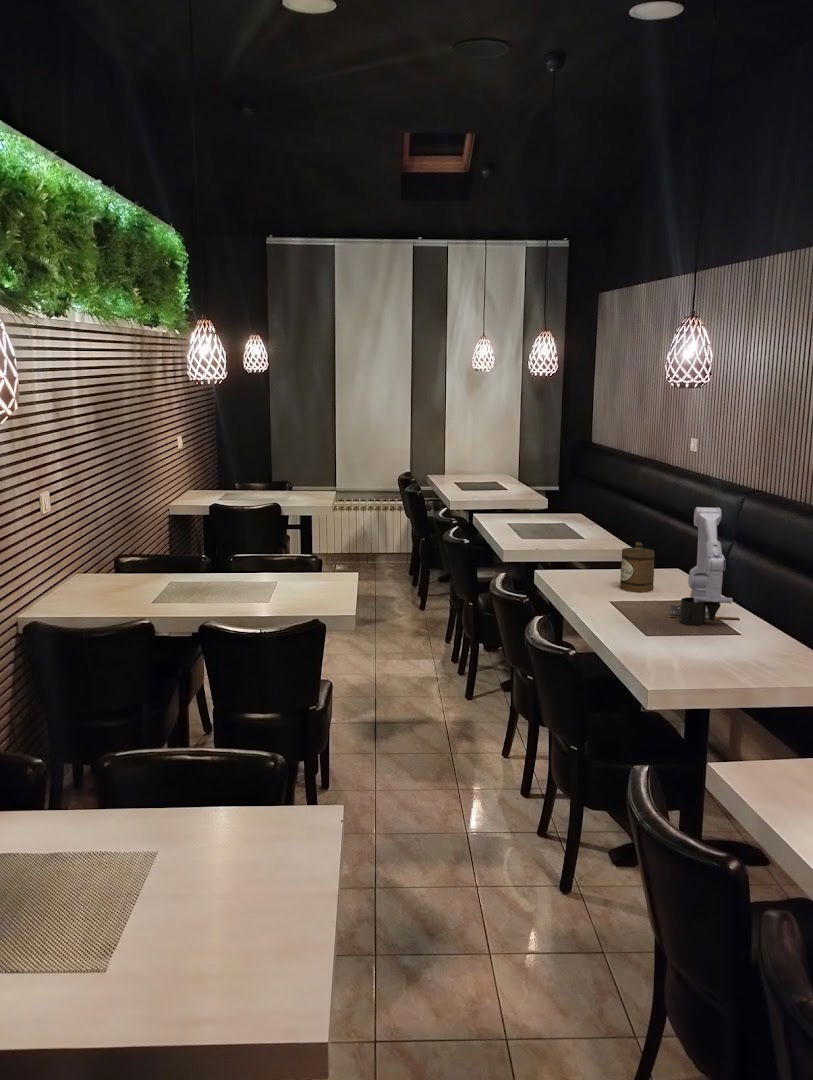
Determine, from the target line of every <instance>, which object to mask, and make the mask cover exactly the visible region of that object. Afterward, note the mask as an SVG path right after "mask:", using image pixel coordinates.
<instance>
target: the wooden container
mask: <svg viewBox="0 0 813 1080" xmlns="http://www.w3.org/2000/svg"><path fill="white" fill-rule="evenodd" d="M643 544H644V543H642V542H640V541H637V542H635V543H634V547H624V548H622V549H621V562H620V563H621V566H620V584H619V587H620V589H621V590H623V591H625V590H626V591H625V592H630V593H648V592H652V591H653V590H654V579H655V552H656V551H655V550H653V549H651V548H644V547H643Z"/></svg>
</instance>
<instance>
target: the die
mask: <svg viewBox="0 0 813 1080" xmlns="http://www.w3.org/2000/svg"><path fill="white" fill-rule="evenodd" d="M680 611H681V604H679V605H677V604H674V605H673V604H670V605H669V615H680Z"/></svg>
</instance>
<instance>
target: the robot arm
mask: <svg viewBox="0 0 813 1080" xmlns="http://www.w3.org/2000/svg"><path fill="white" fill-rule="evenodd" d="M722 516H723V515H722V509H721V508H720V507H701V506H696V507H695V508H694V512H693V525H694V527H697V531H698V532H697V533H698V534H697V536H698V537H697V550H696V551H697V556H696V565H695V566H694V567H693V568H691V569H690V570H689V574H688V587H689V588H690V589H691V591H690V596H689V597H692V598H694V602H696V603H697V602H706V610H705V613H708V616H709V619H708V620H710V622H714V620H715V619H714V617H716V615H717V613H718V611H719V609H720V608H721V604H732V605H733V601H734V599H733V598H732V597H726V596H725V597H723V596H722V588H723V577H724V576H723V575H724V573H723V572H725V571H726V558H725V555H723V551H722V545H721V541H719V540H718V526H719V524H720V522H721V520H722Z"/></svg>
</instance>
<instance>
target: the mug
mask: <svg viewBox="0 0 813 1080" xmlns="http://www.w3.org/2000/svg"><path fill="white" fill-rule="evenodd" d="M680 605H681V611H680V618H679V622H681V623H682V624H685V625H689V626H700V625H704V624H705V622H706V619H705V616H706V612H705V610H706V602H697V603H696V602H694V598H692V597H690V596H688V597H684V598H683V597H682V598H681V600H680Z"/></svg>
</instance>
